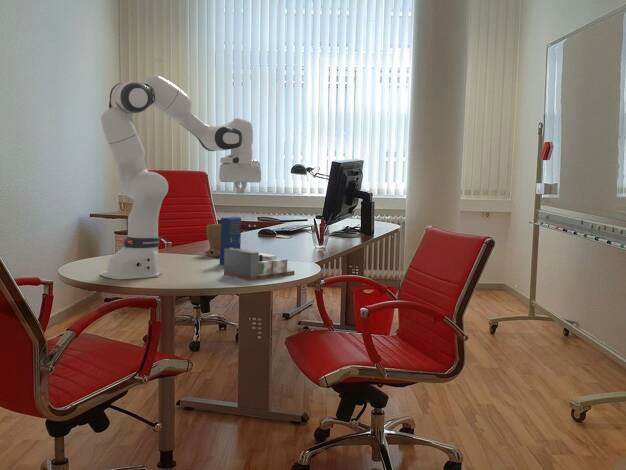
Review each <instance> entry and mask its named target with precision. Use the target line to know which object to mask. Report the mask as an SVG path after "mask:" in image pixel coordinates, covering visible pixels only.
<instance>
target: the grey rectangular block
mask: <svg viewBox="0 0 626 470" xmlns="http://www.w3.org/2000/svg"><path fill="white" fill-rule="evenodd" d="M259 253H260V252H259V251H254V250H247V249H242V248H240V249H237V248H224V265H223V273H224V272H229V273H234V274H238V275H243V276H248V277H254V276H258V263H259Z"/></svg>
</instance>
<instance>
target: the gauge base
mask: <svg viewBox="0 0 626 470" xmlns="http://www.w3.org/2000/svg"><path fill="white" fill-rule="evenodd" d="M223 276H225V277H230V278H235V279H238V280H239V279H240V280H245V281H248V282H252V281H258V280H265V279H274V278H280V277H288V276H295V270H291V269H288V259H287V258H282V259H276V260H270V261H262V262H259V263H258V276H254V277H248V276H243V275H238V274H234V273H229V272H224V271H223Z"/></svg>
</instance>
